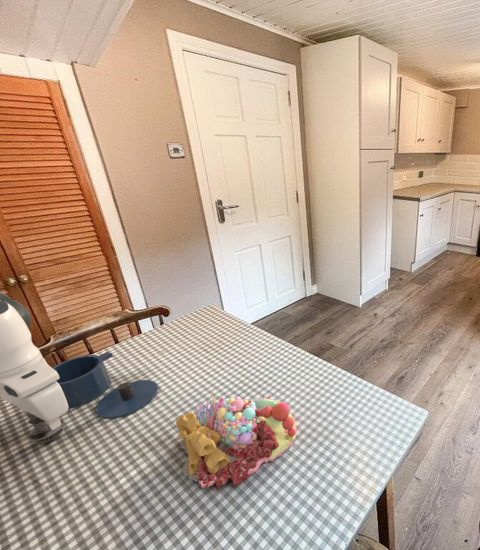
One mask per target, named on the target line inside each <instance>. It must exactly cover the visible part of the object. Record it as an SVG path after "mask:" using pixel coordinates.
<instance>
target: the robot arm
mask: <svg viewBox="0 0 480 550" xmlns="http://www.w3.org/2000/svg"><path fill="white" fill-rule="evenodd" d="M31 316H32V315H31V312H30V311H29V309H28V308H27V307H26V306H25V305H23V304H22V303H20V302H19V301H16V300H15V299H14V298H11V297H10V296H7V295H5V294H4V293H2V291H1V292H0V398H1V399H2V400H3V401H6V402H7V403H10V404H12V405H13V406H16V407H17V408H18V409H19V410H20V411H21V412H22V413H23V415H24V416H25V417H26V418H29V416H28V415H27V413H26V411H27V412H29V413H31V414H33V415H35V416H37V417H39V418H41V419H42V420H44V421H46V425H47V427H48V428H50V429H51V430H55V429H56V428H58V427H59V426H61V421H60V420H61V419H60V418H61V417H62V416H63V415H65V414H67V412H68V411H69V409H68V403H67V401H66V398H65V395H64V393H63V391H62V388H61V386H60V385H59V383H58V382H57V380H58V379H59V378H60V377H59V375H58V373H57V372H56V371H55V370H54V369H53V366H50V364H48V362H47V361H46V359H45V358H44V357H43V355H42V353H41V350H40V349H39V347H37V346H36V345H35V344H34V343H33V339H32V333H31V331H30V327H31V322H32V317H31ZM59 419H60V420H59Z"/></svg>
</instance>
